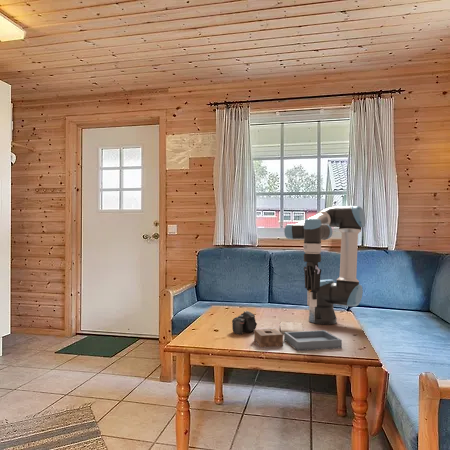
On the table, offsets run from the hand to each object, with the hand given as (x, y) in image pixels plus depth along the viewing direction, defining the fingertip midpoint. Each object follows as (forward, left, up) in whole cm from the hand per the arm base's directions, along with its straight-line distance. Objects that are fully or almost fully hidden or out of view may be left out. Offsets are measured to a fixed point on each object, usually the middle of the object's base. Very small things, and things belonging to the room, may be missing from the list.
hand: (311, 305), depth 165 cm
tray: (0, 0, -17) cm, 17 cm away
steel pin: (0, 0, -7) cm, 7 cm away
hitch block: (+19, -4, -17) cm, 26 cm away
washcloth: (0, -24, -18) cm, 30 cm away
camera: (+24, -25, -17) cm, 38 cm away
